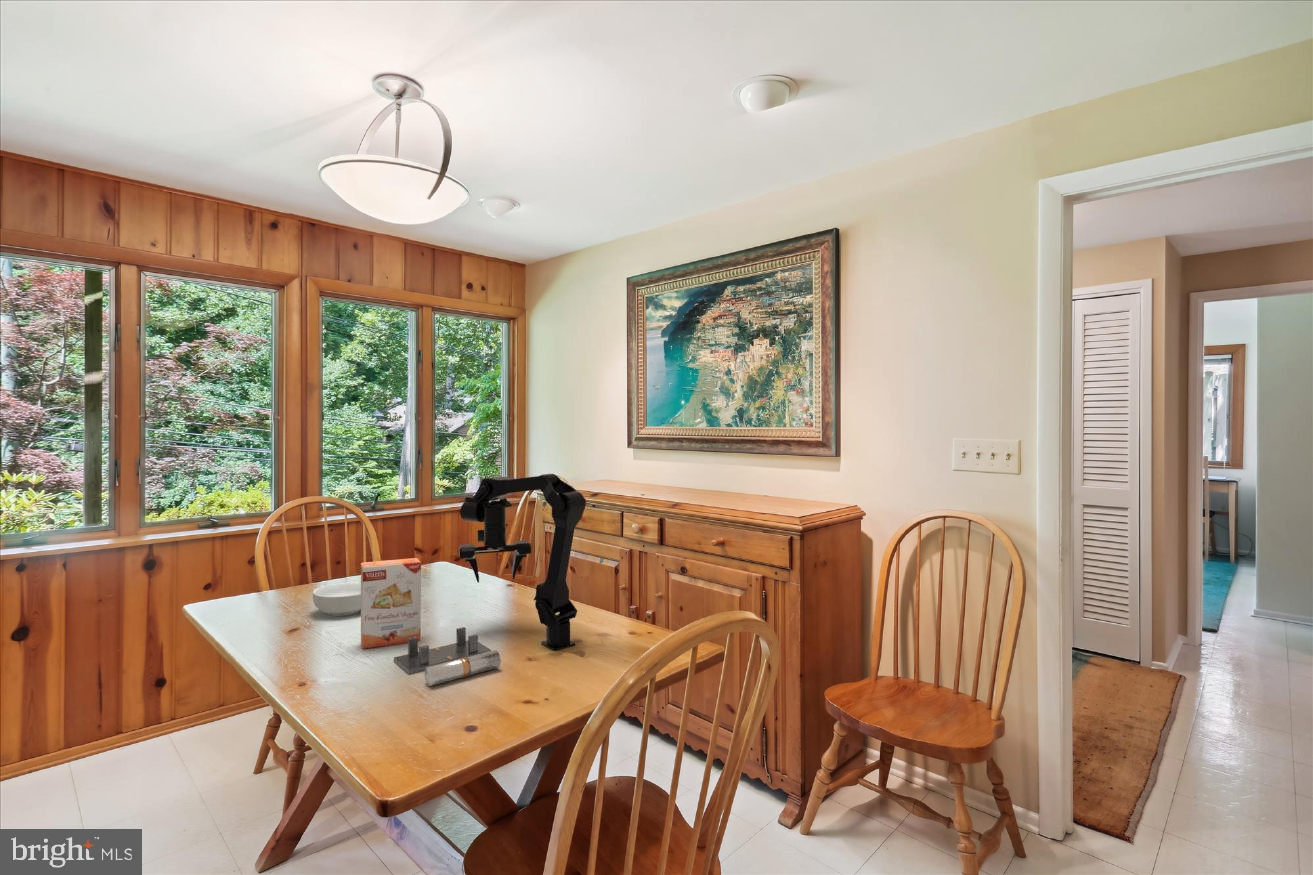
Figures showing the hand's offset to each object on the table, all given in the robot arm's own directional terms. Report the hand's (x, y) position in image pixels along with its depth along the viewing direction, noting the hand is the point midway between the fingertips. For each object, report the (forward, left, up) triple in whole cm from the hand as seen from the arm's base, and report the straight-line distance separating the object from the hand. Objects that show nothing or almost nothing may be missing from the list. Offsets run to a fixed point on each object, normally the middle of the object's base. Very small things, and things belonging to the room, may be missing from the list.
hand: (495, 580), depth 174 cm
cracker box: (+9, +25, -14) cm, 30 cm away
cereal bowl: (+44, +27, -14) cm, 53 cm away
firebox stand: (-10, +19, -14) cm, 25 cm away
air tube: (-24, +20, -14) cm, 34 cm away
